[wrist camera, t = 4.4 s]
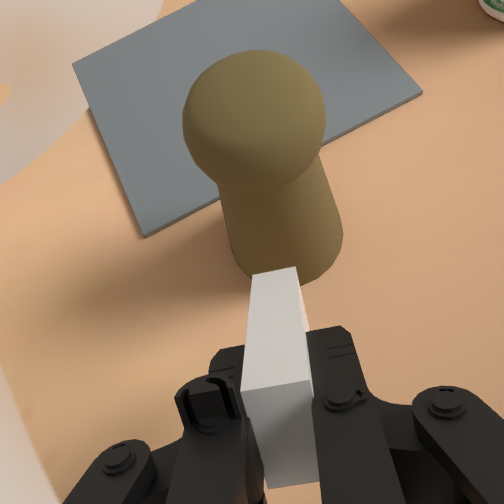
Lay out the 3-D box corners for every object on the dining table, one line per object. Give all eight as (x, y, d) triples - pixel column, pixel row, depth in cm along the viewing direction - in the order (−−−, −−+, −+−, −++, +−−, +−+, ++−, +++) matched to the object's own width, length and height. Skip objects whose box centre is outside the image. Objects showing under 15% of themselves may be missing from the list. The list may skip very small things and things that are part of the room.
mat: (294, -45, 35) (293, -49, 35) (422, 94, 28) (422, 90, 27) (73, 66, 34) (71, 63, 34) (145, 237, 27) (143, 235, 27)
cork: (213, 268, 26) (126, 141, 16) (255, 176, 28) (201, 12, 18) (321, 303, 24) (298, 183, 14) (358, 201, 26) (360, 33, 16)
